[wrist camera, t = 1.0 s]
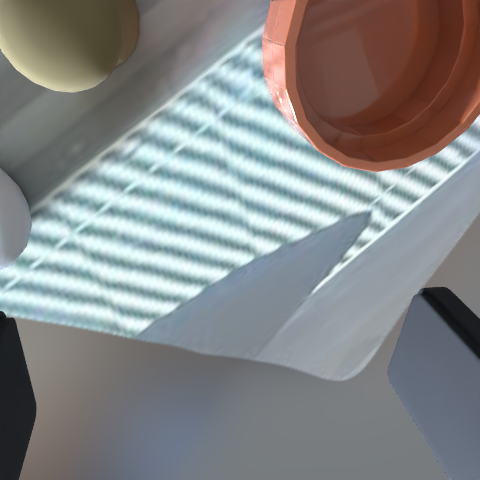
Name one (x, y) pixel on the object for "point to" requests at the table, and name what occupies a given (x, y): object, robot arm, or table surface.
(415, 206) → the table surface
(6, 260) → the donut
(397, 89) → the basin
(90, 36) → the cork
